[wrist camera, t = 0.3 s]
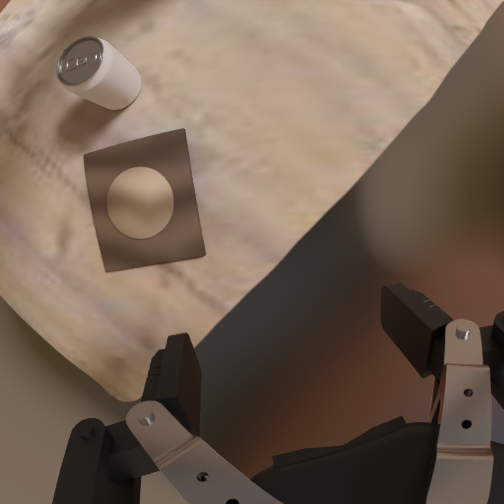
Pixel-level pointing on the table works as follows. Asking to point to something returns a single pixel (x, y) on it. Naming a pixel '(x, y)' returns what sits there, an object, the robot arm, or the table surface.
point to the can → (98, 73)
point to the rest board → (144, 201)
